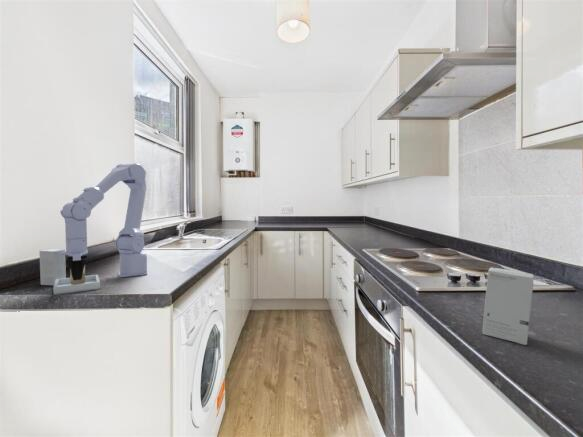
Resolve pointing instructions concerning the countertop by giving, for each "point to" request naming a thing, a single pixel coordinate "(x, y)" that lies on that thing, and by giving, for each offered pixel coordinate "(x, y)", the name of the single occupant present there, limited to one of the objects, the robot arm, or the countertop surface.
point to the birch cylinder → (74, 282)
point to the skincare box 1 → (52, 266)
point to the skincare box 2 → (508, 304)
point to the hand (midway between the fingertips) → (77, 278)
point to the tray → (65, 287)
